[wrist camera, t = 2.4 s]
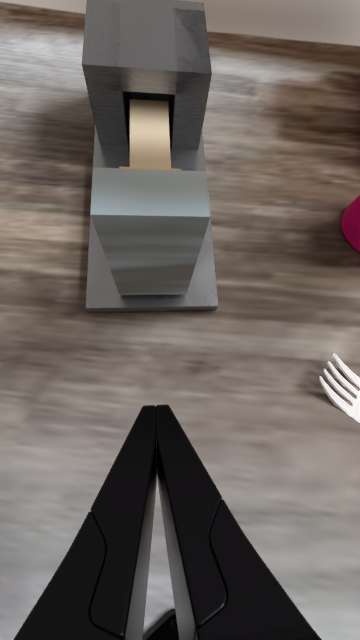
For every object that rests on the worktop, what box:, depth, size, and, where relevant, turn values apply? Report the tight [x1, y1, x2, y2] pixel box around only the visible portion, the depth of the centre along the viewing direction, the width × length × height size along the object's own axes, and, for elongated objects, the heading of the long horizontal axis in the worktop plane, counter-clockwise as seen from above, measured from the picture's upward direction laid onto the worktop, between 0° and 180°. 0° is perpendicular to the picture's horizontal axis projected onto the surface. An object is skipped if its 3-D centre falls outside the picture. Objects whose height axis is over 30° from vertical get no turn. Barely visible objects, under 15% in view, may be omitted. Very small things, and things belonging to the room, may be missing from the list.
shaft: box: [90, 99, 211, 295], centre depth 17 cm, size 15×5×9 cm, turn 3°
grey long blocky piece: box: [82, 0, 218, 312], centre depth 21 cm, size 24×10×7 cm, turn 3°
